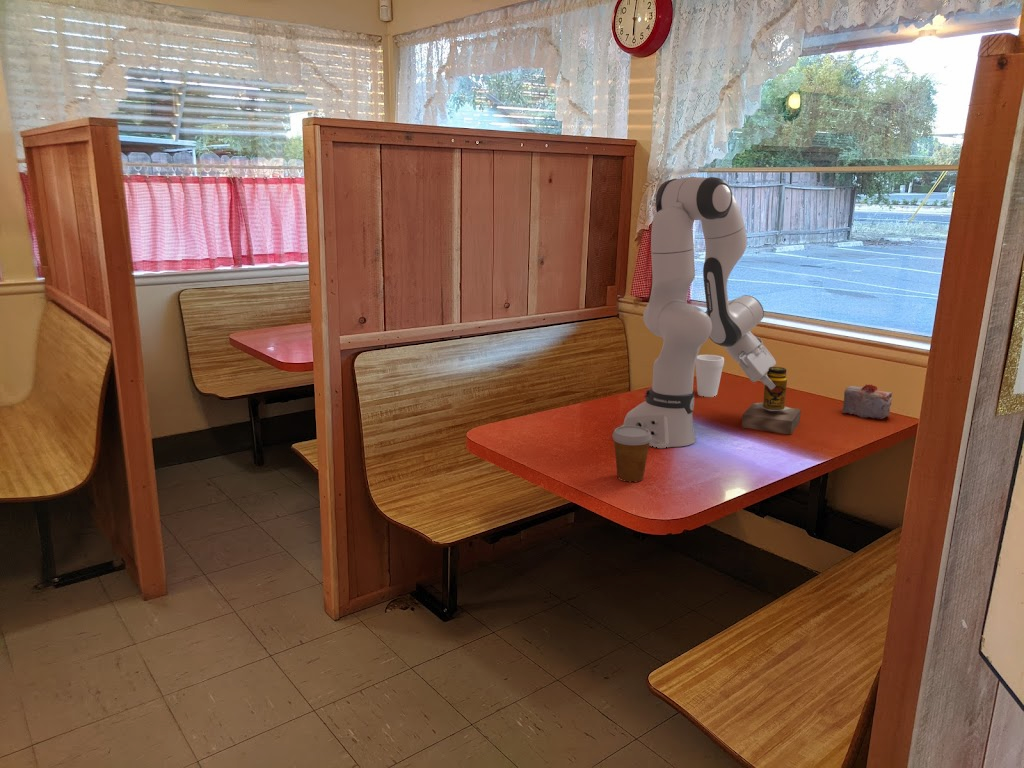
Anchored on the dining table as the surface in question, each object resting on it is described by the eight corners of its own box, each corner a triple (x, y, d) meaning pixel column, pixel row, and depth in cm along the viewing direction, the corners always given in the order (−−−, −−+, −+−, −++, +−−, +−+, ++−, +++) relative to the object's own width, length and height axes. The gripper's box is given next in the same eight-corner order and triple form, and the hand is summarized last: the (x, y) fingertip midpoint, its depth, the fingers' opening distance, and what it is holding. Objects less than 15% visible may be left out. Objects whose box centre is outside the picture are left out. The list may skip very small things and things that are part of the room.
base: (741, 427, 222) (742, 414, 221) (752, 415, 234) (753, 402, 233) (791, 434, 215) (792, 421, 214) (799, 421, 227) (800, 409, 226)
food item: (892, 416, 232) (896, 385, 230) (886, 422, 226) (890, 391, 224) (846, 408, 241) (849, 379, 238) (839, 414, 234) (842, 384, 232)
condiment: (770, 411, 219) (774, 371, 216) (753, 403, 226) (756, 365, 223) (791, 409, 221) (795, 369, 218) (773, 401, 229) (776, 363, 226)
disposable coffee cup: (645, 470, 188) (647, 424, 185) (653, 484, 179) (656, 437, 176) (607, 470, 188) (609, 425, 185) (614, 485, 179) (615, 437, 176)
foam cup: (691, 390, 262) (693, 354, 258) (717, 391, 261) (720, 354, 258) (696, 398, 253) (698, 360, 249) (724, 398, 252) (726, 360, 249)
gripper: (745, 348, 213) (777, 386, 211) (761, 336, 230) (791, 371, 228) (728, 362, 216) (760, 399, 214) (745, 349, 233) (774, 383, 231)
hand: (776, 385), depth 221 cm, fingers closed on condiment, 6 cm apart
